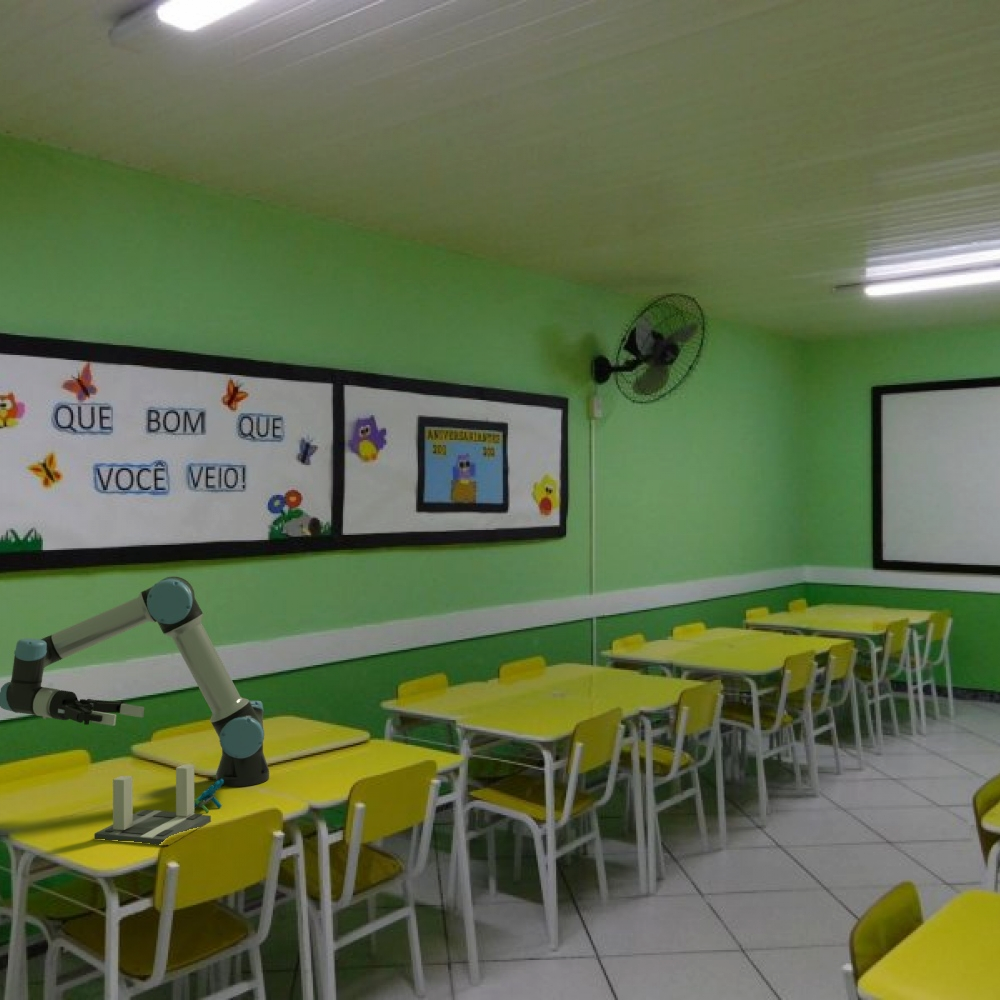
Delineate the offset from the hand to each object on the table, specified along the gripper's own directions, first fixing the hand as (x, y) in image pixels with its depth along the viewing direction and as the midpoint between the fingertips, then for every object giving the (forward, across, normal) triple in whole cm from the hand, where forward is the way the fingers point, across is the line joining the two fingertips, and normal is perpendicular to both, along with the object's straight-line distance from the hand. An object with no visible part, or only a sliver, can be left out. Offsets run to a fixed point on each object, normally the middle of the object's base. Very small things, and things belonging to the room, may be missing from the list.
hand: (129, 716), depth 260 cm
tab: (+11, +15, -23) cm, 30 cm away
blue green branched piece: (+20, -10, -23) cm, 32 cm away
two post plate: (+16, +10, -24) cm, 31 cm away
